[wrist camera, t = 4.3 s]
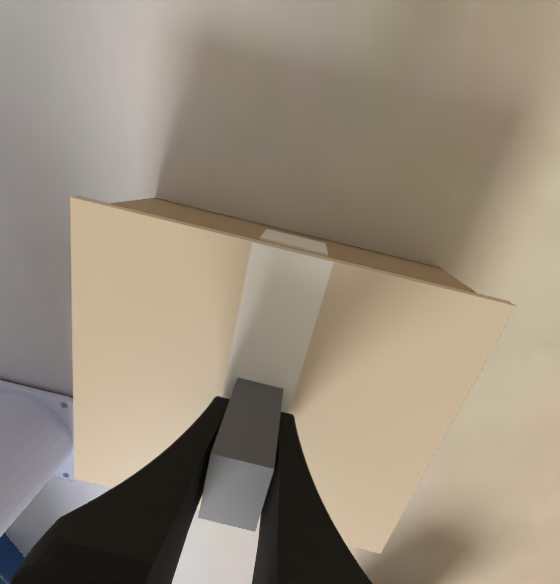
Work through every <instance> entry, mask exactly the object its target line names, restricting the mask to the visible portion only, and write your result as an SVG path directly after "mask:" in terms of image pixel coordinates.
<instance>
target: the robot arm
mask: <svg viewBox="0 0 560 584" xmlns="http://www.w3.org/2000/svg"><path fill="white" fill-rule="evenodd" d="M229 400H230V399H228V398H224V397H220V396H216V397H214V399H213V400H212V402H211V403H210V404H209V406H208V407H207V408H206V409H205V411H204V412H203V413H202V414H201V415H200V416H199V418H198V419H197V420H196V421H195V422H194V423H193V424H192V425H191V426H190V427H189V428H188V429H187V430H186V431H185V432H184V433H183V434H182V435H181V436H180V437H179V438H178V439H177V440H176V441H175V442H174V443H172V444H171V445H170V446H169V447H168V448H167V449H166V450H165V451H163V452H162V453H161V454H160V455H159V456H157V457H156V458H155V459H154V460H152V461H151V462H150V463H148V464H147V465H146V466H144V467H143V468H142V469H140V470H139V471H138V472H136V473H135V474H133V475H132V476H131V477H129V478H128V479H126V480H125V481H123V482H122V483H120V484H118V485H117V486H115V487H113V488H112V489H110V490H109V491H107V492H105V493H104V494H102V495H101V496H99V497H97V498H96V499H94V500H92V501H90V502H88V503H87V504H85V505H83V506H81V507H79V508H77V509H75V510H73V511H72V512H70V513H68V514H66V515H64V516H62V517H60V518H59V519H58V520H57V521H56V522H55V523H54V524H53V525H52V526H51V528H50V529H49V530H48V531H47V532H46V533H45V534H44V535H43V537H42V538H41V539H40V540H39V541H38V542H37V543H36V545H35V546H34V547H33V548H32V550H31V551H30V552H29V554H28V555H27V557H26V558H25V559H24V561H23V562H22V563H21V565H20V566H19V567H18V569H17V570H16V572H15V573H14V575H13V576H12V578H11V584H171V583H172V580H173V577H174V574H175V571H176V567H177V564H178V561H179V558H180V555H181V552H182V549H183V546H184V542H185V539H186V536H187V533H188V530H189V527H190V525H191V522H192V519H193V516H194V514H195V512H196V509H197V507H198V504H199V502H200V499H201V497H202V495H203V490H204V485H205V480H206V475H207V470H208V465H209V460H210V455H211V451H212V448H213V446H214V443H215V440H216V437H217V434H218V431H219V429H220V426H221V423H222V420H223V417H224V415H225V412H226V409H227V406H228V403H229ZM53 476H55V477H59V478H63V479H67V480H71V481H76V480H77V479H74V421H73V398H72V397H68V396H63V395H59V394H55V393H51V392H47V391H43V390H39V389H35V388H31V387H27V386H23V385H18V384H14V383H10V382H6V381H2V380H0V537H1V536H2V535H3V534H4V533H5V531H6V530H7V529H8V528H9V527H10V526H11V524H12V523H13V522H14V521H15V520H16V519H17V517H18V516H19V515H20V514H21V513H22V512H23V510H24V509H25V508H26V507H27V506H28V505H29V503H30V502H31V501H32V500H33V499H34V498H35V496H36V495H37V494H38V493H39V492H40V491H41V489H42V488H43V487H44V486H45V485H46V484H47V482H48V481H49V480H50V479H51V478H52V477H53ZM252 584H372V583H371V581H370V580H369V579H368V577H367V576H366V574H365V573H364V572H363V570H362V569H361V567H360V566H359V564H358V563H357V561H356V560H355V558H354V557H353V555H352V554H351V552H350V550H349V549H348V547H347V546H346V544H345V542H344V540H343V539H342V537H341V535H340V533H339V532H338V530H337V528H336V527H335V525H334V523H333V521H332V519H331V518H330V516H329V514H328V512H327V510H326V508H325V506H324V504H323V502H322V499H321V497H320V495H319V493H318V491H317V488H316V486H315V484H314V481H313V479H312V476H311V473H310V471H309V468H308V465H307V463H306V460H305V456H304V453H303V450H302V447H301V444H300V440H299V436H298V432H297V428H296V423H295V417H294V415H293V414H290V413H285V412H281V415H280V423H279V432H278V441H277V449H276V458H275V467H274V471H273V475H272V478H271V481H270V485H269V488H268V491H267V494H266V498H265V501H264V504H263V508H262V511H261V516H260V529H259V539H258V548H257V554H256V561H255V567H254V574H253V580H252Z"/></svg>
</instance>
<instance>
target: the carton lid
mask: <svg viewBox="0 0 560 584" xmlns="http://www.w3.org/2000/svg"><path fill="white" fill-rule="evenodd" d="M70 230H71V293H72V357H73V421H74V479H77V480H81V481H85V482H89V483H93V484H97V485H101V486H105V487H109V488H113V487H115V486H117V485H118V484H120V483H122V482H123V481H125V480H126V479H128V478H129V477H131V476H132V475H133V474H135V473H136V472H138V471H139V470H140V469H142V468H143V467H144V466H146V465H147V464H148V463H150V462H151V461H152V460H154V459H155V458H156V457H157V456H159V455H160V454H161V453H162V452H163V451H165V450H166V449H167V448H168V447H169V446H170V445H171V444H172V443H174V442H175V441H176V440H177V439H178V438H179V437H180V436H181V435H182V434H183V433H184V432H185V431H186V430H187V429H188V428H189V427H190V426H191V425H192V424H193V423H194V422H195V421H196V420H197V419H198V418H199V416H200V415H201V414H202V413H203V412H204V411H205V409H206V408H207V407H208V406H209V404H210V403H211V402H212V400H213V399H214V397H216V396H220V397H224V398H228V399H230V400H229V403H228V406H227V409H226V412H225V415H224V417H223V420H222V423H221V426H220V429H219V431H218V434H217V437H216V440H215V443H214V446H213V448H212V451H211V455H210V460H209V465H208V470H207V475H206V480H205V485H204V490H203V495H202V497H201V499H200V502H199V504H198V507H197V509H199V515H198V518H202V519H206V520H210V521H214V522H218V523H222V524H226V525H230V526H234V527H238V528H243V529H247V530H251V531H256V527H257V524H260V516H261V511H262V508H263V504H264V501H265V498H266V494H267V491H268V488H269V485H270V481H271V478H272V475H273V471H274V467H275V458H276V449H277V441H278V432H279V423H280V415H281V412H285V413H290V414H293V415H294V417H295V423H296V428H297V432H298V436H299V440H300V444H301V447H302V450H303V453H304V456H305V460H306V463H307V465H308V468H309V471H310V473H311V476H312V479H313V481H314V484H315V486H316V488H317V491H318V493H319V495H320V497H321V499H322V502H323V504H324V506H325V508H326V510H327V512H328V514H329V516H330V518H331V519H332V521H333V523H334V525H335V527H336V528H337V530H338V532H339V533H340V535H341V537H342V539H343V540H344V542H345V544H346V546H350V547H354V548H358V549H363V550H367V551H371V552H375V553H379V554H381V552H382V550H383V549H384V547H385V545H386V543H387V541H388V539H389V538H390V536H391V534H392V532H393V530H394V529H395V527H396V525H397V523H398V521H399V519H400V518H401V516H402V514H403V512H404V510H405V508H406V507H407V505H408V503H409V501H410V499H411V498H412V496H413V494H414V492H415V490H416V488H417V487H418V485H419V483H420V481H421V479H422V477H423V476H424V474H425V472H426V470H427V468H428V467H429V465H430V463H431V461H432V459H433V457H434V456H435V454H436V452H437V450H438V448H439V447H440V445H441V443H442V441H443V439H444V437H445V436H446V434H447V432H448V430H449V428H450V426H451V425H452V423H453V421H454V419H455V417H456V416H457V414H458V412H459V410H460V408H461V406H462V405H463V403H464V401H465V399H466V397H467V395H468V394H469V392H470V390H471V388H472V386H473V385H474V383H475V381H476V379H477V377H478V375H479V374H480V372H481V370H482V368H483V366H484V365H485V363H486V361H487V359H488V357H489V355H490V354H491V352H492V350H493V348H494V346H495V344H496V343H497V341H498V339H499V337H500V335H501V334H502V332H503V330H504V328H505V326H506V324H507V323H508V321H509V319H510V317H511V315H512V313H513V312H514V310H515V308H516V305H514V304H512V303H511V302H509V301H506V300H502V299H498V298H494V297H490V296H486V295H482V294H477V293H473V292H469V291H465V290H461V289H457V288H453V287H449V286H445V285H441V284H437V283H432V282H428V281H424V280H420V279H416V278H412V277H408V276H404V275H400V274H396V273H391V272H387V271H383V270H379V269H375V268H371V267H367V266H363V265H359V264H355V263H351V262H346V261H342V260H338V259H334V258H330V257H326V256H322V255H318V254H314V253H310V252H306V251H301V250H297V249H293V248H289V247H285V246H281V245H277V244H273V243H269V242H265V241H261V240H256V239H252V238H248V237H244V236H240V235H236V234H232V233H228V232H224V231H220V230H216V229H211V228H207V227H203V226H199V225H195V224H191V223H187V222H183V221H179V220H175V219H171V218H166V217H162V216H158V215H154V214H150V213H146V212H142V211H138V210H134V209H130V208H125V207H121V206H117V205H113V204H109V203H105V202H101V201H97V200H93V199H89V198H85V197H80V196H76V197H70Z"/></svg>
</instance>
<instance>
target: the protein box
mask: <svg viewBox="0 0 560 584" xmlns="http://www.w3.org/2000/svg"><path fill="white" fill-rule="evenodd" d="M24 559H25V558H24V557H23V556H22V555H21V553H20V552H19V551H18V550H17V548H16V547H15V546H14V545H13V543H12V542H11V541H10V540H9V538H8V537H7V536H6V535H5V534H3V535H2V536H1V537H0V584H11V578H12V576H13V575H14V573H15V572H16V570H17V569H18V567H19V566H20V565H21V563H22V562H23V561H24Z"/></svg>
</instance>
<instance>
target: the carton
mask: <svg viewBox="0 0 560 584" xmlns="http://www.w3.org/2000/svg"><path fill="white" fill-rule="evenodd" d="M111 204H113V205H117V206H121V207H125V208H130V209H134V210H138V211H142V212H146V213H150V214H154V215H158V216H162V217H166V218H171V219H175V220H179V221H183V222H187V223H191V224H195V225H199V226H203V227H207V228H211V229H216V230H220V231H224V232H228V233H232V234H236V235H240V236H244V237H248V238H252V239H256V240H261V241H265V242H269V243H273V244H277V245H281V246H285V247H289V248H293V249H297V250H301V251H306V252H310V253H314V254H318V255H322V256H326V257H330V258H334V259H338V260H342V261H346V262H351V263H355V264H359V265H363V266H367V267H371V268H375V269H379V270H383V271H387V272H391V273H396V274H400V275H404V276H408V277H412V278H416V279H420V280H424V281H428V282H432V283H437V284H441V285H445V286H449V287H453V288H457V289H461V290H465V291H469V292H473V293H476V292H475V291H473V290H472V289H470V288H469V287H467V286H466V285H464V284H463V283H461V282H460V281H458V280H457V279H455V278H454V277H452V276H451V275H449V274H448V273H446V272H445V271H443V270H442V269H441V268H439V267H435V266H431V265H427V264H423V263H418V262H414V261H410V260H406V259H402V258H398V257H394V256H390V255H386V254H382V253H378V252H373V251H369V250H365V249H361V248H357V247H353V246H349V245H345V244H341V243H337V242H333V241H328V240H324V239H320V238H316V237H312V236H308V235H304V234H300V233H296V232H292V231H287V230H283V229H279V228H275V227H271V226H267V225H263V224H259V223H255V222H251V221H247V220H242V219H238V218H234V217H230V216H226V215H222V214H218V213H214V212H210V211H206V210H202V209H197V208H193V207H189V206H185V205H181V204H177V203H173V202H169V201H165V200H161V199H157V198H150V199H142V200H134V201H126V202H117V203H111Z"/></svg>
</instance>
